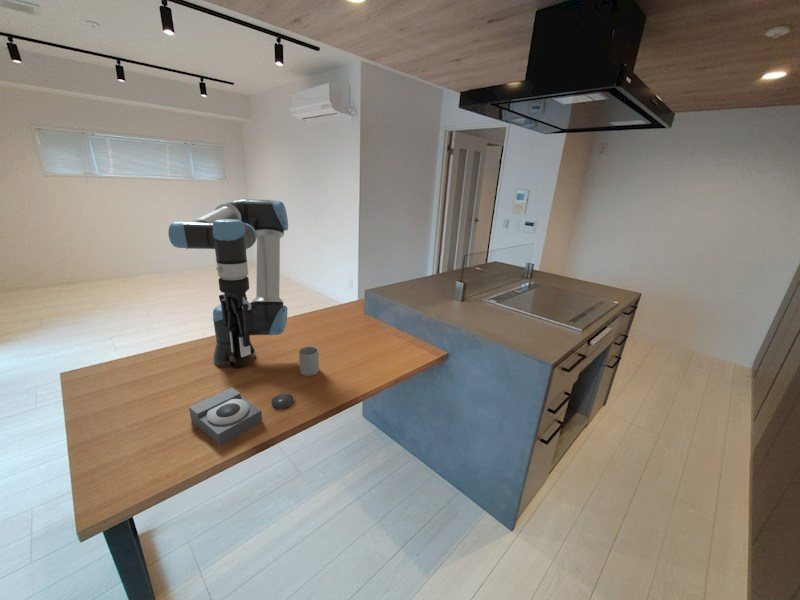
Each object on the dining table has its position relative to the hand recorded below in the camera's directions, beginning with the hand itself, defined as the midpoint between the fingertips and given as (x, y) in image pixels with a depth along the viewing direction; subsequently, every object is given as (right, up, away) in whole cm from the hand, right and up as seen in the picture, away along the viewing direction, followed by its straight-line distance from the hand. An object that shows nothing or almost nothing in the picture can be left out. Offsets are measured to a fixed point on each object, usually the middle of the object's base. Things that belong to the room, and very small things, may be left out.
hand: (241, 352), depth 99 cm
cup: (+11, -12, +31) cm, 35 cm away
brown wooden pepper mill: (0, -4, +1) cm, 4 cm away
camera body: (-5, -21, +1) cm, 21 cm away
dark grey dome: (+9, -18, +11) cm, 23 cm away
